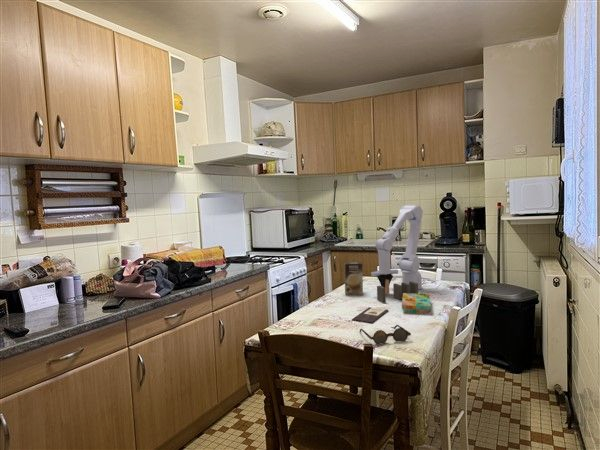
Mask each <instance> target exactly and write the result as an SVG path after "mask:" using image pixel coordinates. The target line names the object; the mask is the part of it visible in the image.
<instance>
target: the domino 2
mask: <svg viewBox="0 0 600 450" xmlns="http://www.w3.org/2000/svg"><path fill="white" fill-rule="evenodd" d="M388 294H390V285H389V280H388V279H386V280H385V295H388Z"/></svg>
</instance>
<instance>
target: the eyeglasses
mask: <svg viewBox="0 0 600 450" xmlns="http://www.w3.org/2000/svg"><path fill="white" fill-rule="evenodd" d="M390 328H392V329H395V330H394V331H393V332H388V333H386V331H385V330H381V329H379V330H377V331H375V332H374V333H373V336H371V335H370V334H369V333H367V332H366V330H364V329H363V328H360V329H359V333H362V332H363V334H364V335H366V336H367V338H369V340H371V341H372V340H373V342H374V343H375V345H377V344H378V345H381V344H380V343H384V344H386V343H387V341H388V338H390V337H392V338H393V341H395V342H396V341H401V342H406V341H407V339H408V337H409V336H412V333H411V332H410V331H408V330H407V329H405V328H404V327H402V326H401V325H399V324H396V325H395V326H391V327H390Z"/></svg>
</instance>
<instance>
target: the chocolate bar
mask: <svg viewBox="0 0 600 450" xmlns="http://www.w3.org/2000/svg"><path fill="white" fill-rule="evenodd" d="M388 312H389V309H383V308H382V309H381V308H375V307H368V308H366V309H364V310H363V311H361V312H360V313H359V314H358V315H356V316H354V317H353V318H351V321H353V322H359V323H366V324H371V325H372V324H374V323H375V322H377V321H378V320H379V319H380V318H382V317H383V316H384V315H386V314H387V313H388Z"/></svg>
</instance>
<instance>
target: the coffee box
mask: <svg viewBox="0 0 600 450" xmlns="http://www.w3.org/2000/svg"><path fill="white" fill-rule="evenodd" d="M363 279H364V278H363V262H362V261H344V293H345V295H348V296H350V295H353V296H356V295H357V296H358V295H364V289H363V288H364V286H363V285H364V284H363V283H364V280H363Z"/></svg>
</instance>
